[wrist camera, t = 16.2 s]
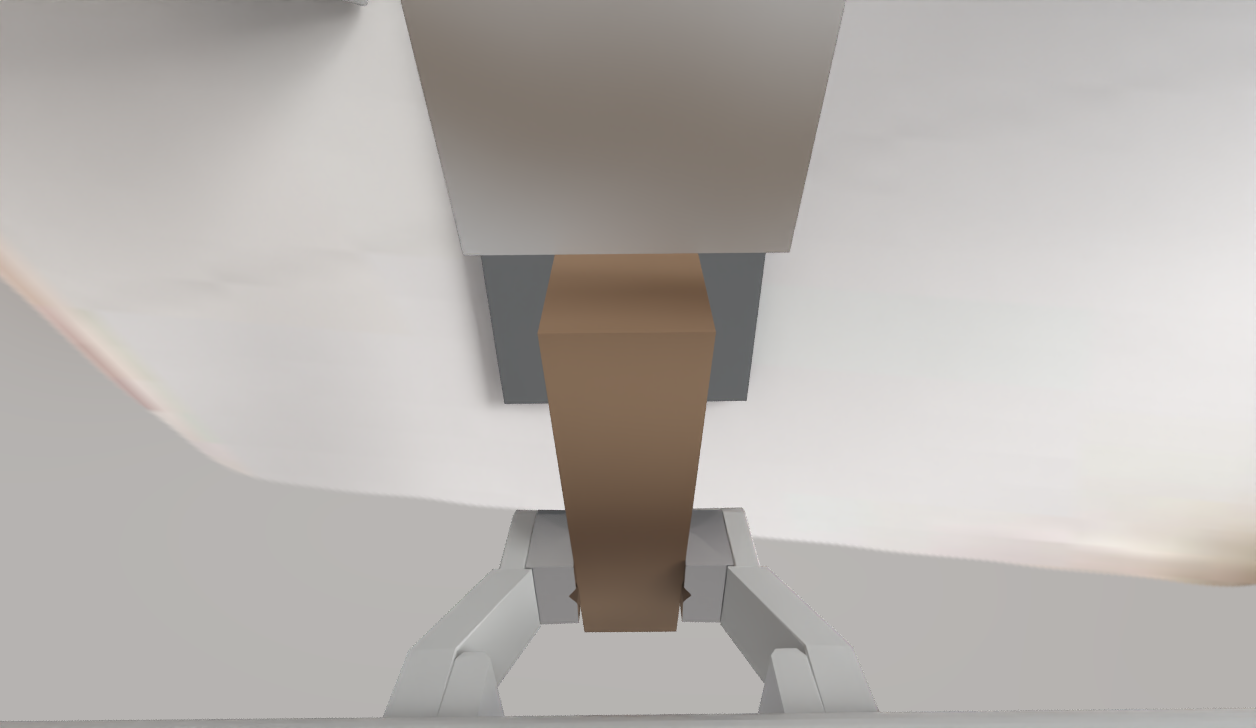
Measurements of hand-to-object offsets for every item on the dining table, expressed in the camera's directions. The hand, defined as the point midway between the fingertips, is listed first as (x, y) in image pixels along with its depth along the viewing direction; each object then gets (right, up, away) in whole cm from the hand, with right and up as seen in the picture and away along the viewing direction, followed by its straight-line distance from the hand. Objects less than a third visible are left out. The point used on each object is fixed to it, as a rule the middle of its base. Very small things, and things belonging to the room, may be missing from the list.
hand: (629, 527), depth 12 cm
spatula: (0, +5, -2) cm, 5 cm away
